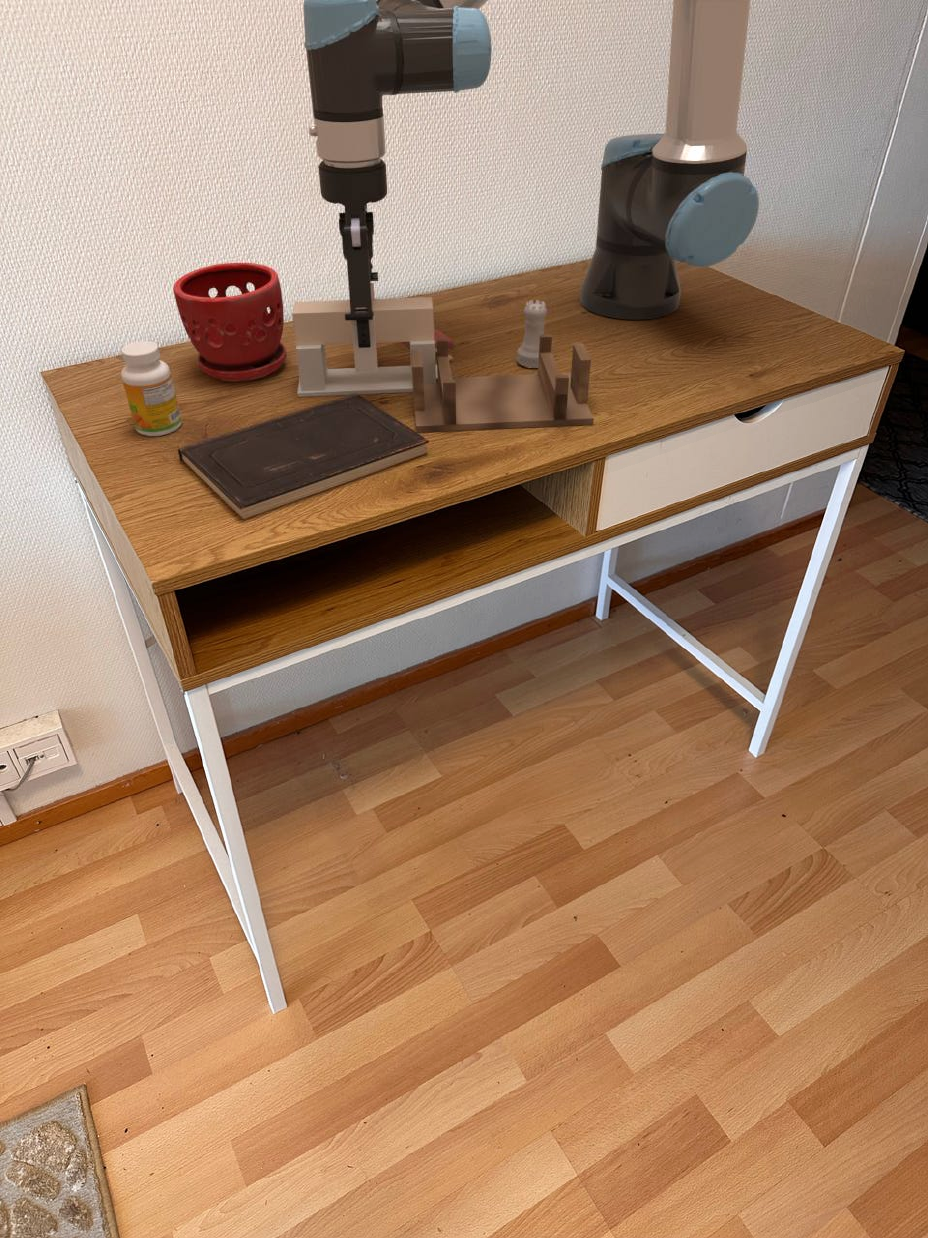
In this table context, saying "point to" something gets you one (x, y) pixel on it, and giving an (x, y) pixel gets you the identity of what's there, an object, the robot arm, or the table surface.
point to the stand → (359, 374)
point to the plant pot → (233, 320)
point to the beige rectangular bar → (390, 317)
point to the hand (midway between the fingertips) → (366, 351)
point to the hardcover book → (301, 453)
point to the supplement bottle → (149, 390)
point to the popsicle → (436, 336)
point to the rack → (502, 395)
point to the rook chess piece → (532, 333)
